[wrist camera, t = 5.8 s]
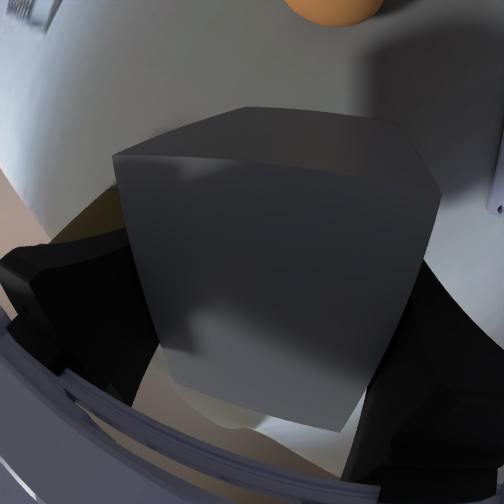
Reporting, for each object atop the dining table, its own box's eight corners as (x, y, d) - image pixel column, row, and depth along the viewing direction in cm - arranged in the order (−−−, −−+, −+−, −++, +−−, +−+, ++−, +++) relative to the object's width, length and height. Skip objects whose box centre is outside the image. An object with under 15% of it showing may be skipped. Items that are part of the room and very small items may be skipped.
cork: (156, 231, 25) (66, 316, 17) (126, 255, 29) (50, 328, 20) (115, 176, 23) (12, 244, 15) (90, 208, 27) (7, 271, 18)
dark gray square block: (398, 123, 9) (441, 194, 4) (364, 291, 14) (340, 432, 8) (246, 106, 11) (111, 155, 5) (248, 267, 16) (174, 381, 10)
